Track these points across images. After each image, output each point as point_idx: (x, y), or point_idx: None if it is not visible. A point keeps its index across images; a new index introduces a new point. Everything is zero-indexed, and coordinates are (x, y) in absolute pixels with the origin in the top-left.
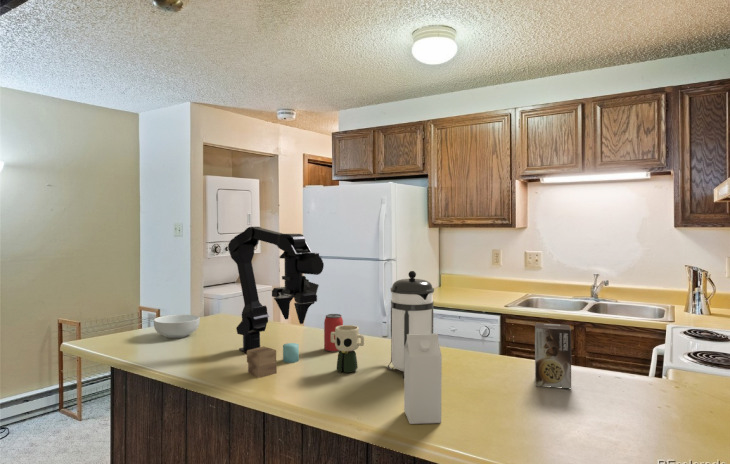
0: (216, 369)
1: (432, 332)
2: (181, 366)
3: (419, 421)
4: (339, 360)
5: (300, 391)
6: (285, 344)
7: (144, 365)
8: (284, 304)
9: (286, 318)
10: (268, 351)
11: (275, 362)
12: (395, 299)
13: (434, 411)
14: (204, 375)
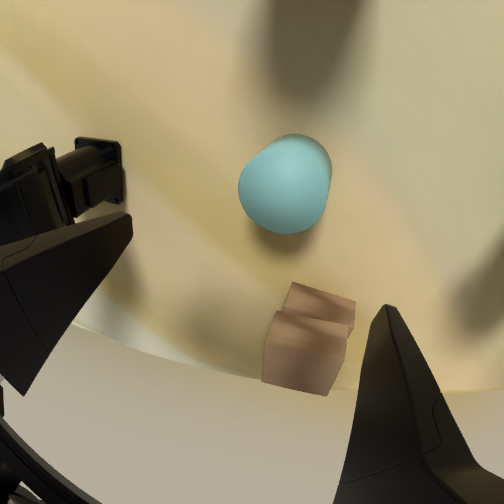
0: (197, 327)
1: None
2: (138, 329)
3: None
4: None
5: (472, 356)
6: (248, 200)
7: (108, 336)
8: (33, 321)
9: (128, 233)
10: (331, 376)
11: (351, 330)
12: None
13: None
14: (217, 356)
